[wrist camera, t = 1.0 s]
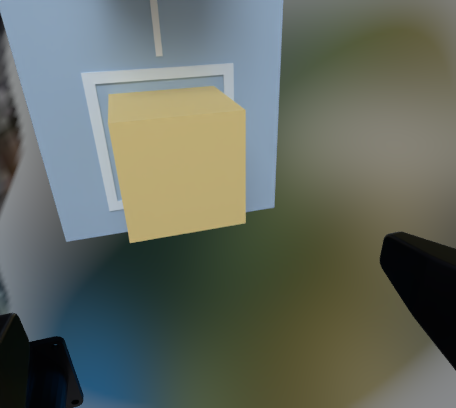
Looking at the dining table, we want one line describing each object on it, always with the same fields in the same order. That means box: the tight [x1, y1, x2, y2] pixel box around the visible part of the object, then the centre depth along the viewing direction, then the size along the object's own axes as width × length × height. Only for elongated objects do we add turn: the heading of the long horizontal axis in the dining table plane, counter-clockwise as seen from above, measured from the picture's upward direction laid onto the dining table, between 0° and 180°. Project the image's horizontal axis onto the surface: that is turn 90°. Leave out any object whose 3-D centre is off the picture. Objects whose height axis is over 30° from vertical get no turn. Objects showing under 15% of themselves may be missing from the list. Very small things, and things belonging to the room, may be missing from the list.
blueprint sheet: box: [0, 0, 283, 242], centre depth 16 cm, size 22×12×1 cm, turn 2°
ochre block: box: [108, 86, 246, 243], centre depth 16 cm, size 5×5×5 cm
